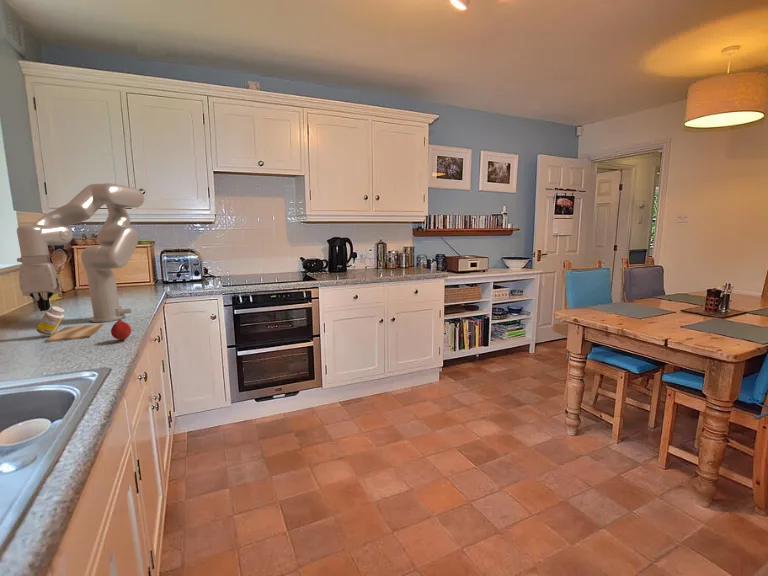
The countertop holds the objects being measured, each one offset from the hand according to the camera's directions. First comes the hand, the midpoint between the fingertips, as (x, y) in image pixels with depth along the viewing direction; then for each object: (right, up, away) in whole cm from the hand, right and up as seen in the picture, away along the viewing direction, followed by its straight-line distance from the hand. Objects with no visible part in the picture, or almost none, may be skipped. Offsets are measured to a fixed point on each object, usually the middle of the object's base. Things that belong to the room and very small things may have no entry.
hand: (44, 310), depth 142 cm
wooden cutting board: (+8, -9, +5) cm, 13 cm away
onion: (+32, -11, -5) cm, 34 cm away
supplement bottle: (-1, -9, +1) cm, 9 cm away
